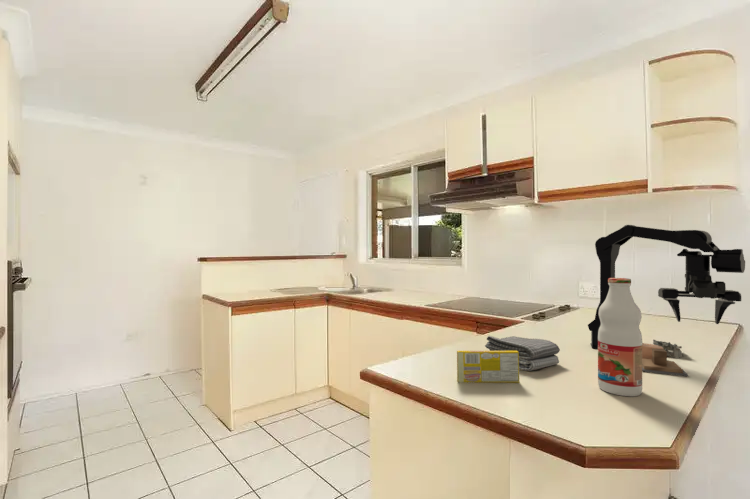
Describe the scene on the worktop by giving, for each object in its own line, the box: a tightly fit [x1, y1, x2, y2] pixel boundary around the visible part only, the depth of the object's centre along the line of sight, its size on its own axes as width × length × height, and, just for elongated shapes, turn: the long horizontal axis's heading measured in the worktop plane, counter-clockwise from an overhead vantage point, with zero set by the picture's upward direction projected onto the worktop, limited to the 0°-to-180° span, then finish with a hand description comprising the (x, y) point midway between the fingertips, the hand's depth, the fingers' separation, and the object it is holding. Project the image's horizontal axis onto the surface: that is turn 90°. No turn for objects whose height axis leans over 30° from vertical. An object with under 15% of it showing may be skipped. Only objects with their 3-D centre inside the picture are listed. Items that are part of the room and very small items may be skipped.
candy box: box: [456, 350, 520, 384], centre depth 103 cm, size 16×2×8 cm, turn 89°
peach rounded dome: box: [642, 342, 663, 359], centre depth 125 cm, size 8×8×4 cm
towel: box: [484, 335, 561, 372], centre depth 121 cm, size 15×18×8 cm
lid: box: [642, 348, 684, 373], centre depth 114 cm, size 9×9×5 cm
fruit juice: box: [597, 277, 643, 397], centre depth 97 cm, size 9×9×28 cm
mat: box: [642, 367, 689, 377], centre depth 114 cm, size 11×10×1 cm
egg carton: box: [652, 339, 683, 358], centre depth 131 cm, size 11×8×4 cm
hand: (697, 322), depth 117 cm, fingers open, 9 cm apart
